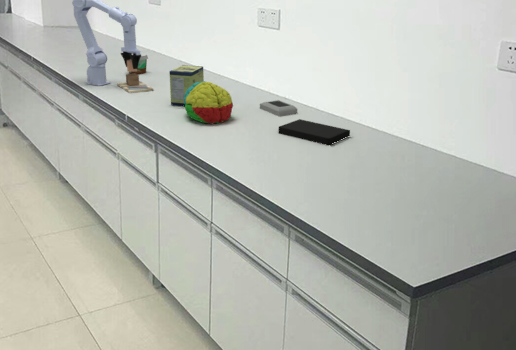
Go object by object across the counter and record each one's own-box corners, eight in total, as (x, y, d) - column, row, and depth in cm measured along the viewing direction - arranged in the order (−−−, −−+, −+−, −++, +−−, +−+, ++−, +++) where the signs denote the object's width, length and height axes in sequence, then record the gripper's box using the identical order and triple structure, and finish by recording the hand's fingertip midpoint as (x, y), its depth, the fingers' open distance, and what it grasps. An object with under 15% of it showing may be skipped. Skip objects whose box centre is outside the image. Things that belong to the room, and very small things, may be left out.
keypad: (277, 98, 269) (297, 105, 257) (277, 106, 270) (297, 114, 258) (259, 101, 264) (279, 108, 252) (259, 109, 265) (278, 117, 253)
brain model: (173, 113, 255) (173, 78, 249) (212, 107, 265) (212, 73, 259) (200, 129, 237) (200, 92, 231) (241, 122, 247) (242, 87, 241)
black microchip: (329, 146, 217) (329, 138, 216) (278, 134, 231) (278, 126, 230) (349, 137, 228) (350, 129, 227) (299, 126, 241) (299, 119, 240)
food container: (127, 75, 328) (125, 57, 324) (126, 73, 333) (125, 55, 330) (149, 74, 331) (148, 56, 327) (148, 72, 336) (147, 54, 333)
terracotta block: (127, 69, 301) (126, 59, 299) (136, 69, 302) (135, 59, 300) (127, 71, 297) (126, 61, 295) (136, 71, 298) (136, 61, 296)
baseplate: (117, 85, 305) (116, 73, 303) (139, 82, 311) (139, 71, 309) (129, 93, 289) (128, 80, 287) (153, 90, 295) (152, 78, 293)
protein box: (204, 99, 280) (203, 66, 274) (192, 107, 266) (191, 72, 260) (183, 97, 282) (182, 64, 277) (170, 105, 268) (168, 71, 263)
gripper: (115, 39, 297) (117, 66, 301) (130, 42, 287) (132, 70, 292) (127, 37, 301) (129, 64, 306) (143, 41, 291) (145, 69, 296)
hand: (131, 67), depth 299 cm, fingers closed on terracotta block, 6 cm apart
